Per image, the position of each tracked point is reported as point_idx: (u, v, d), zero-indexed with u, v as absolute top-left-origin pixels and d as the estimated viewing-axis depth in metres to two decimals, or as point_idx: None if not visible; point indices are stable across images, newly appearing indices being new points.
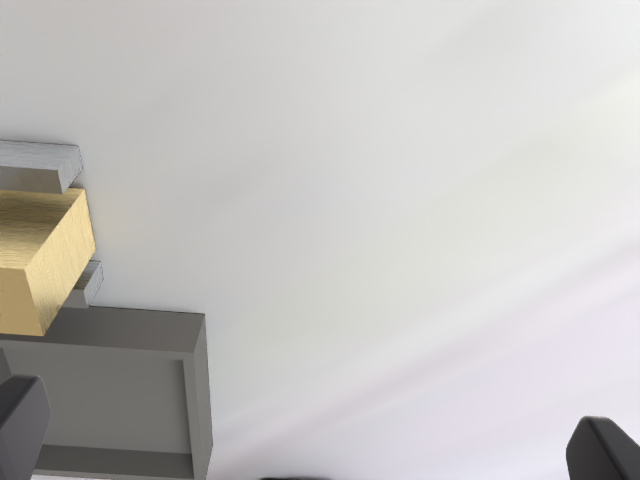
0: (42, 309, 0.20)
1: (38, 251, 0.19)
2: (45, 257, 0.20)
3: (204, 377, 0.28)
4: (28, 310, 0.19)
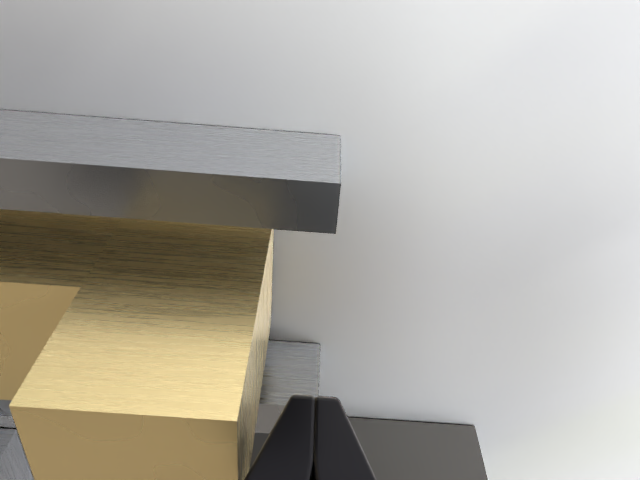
0: None
1: (247, 364, 0.08)
2: (250, 372, 0.09)
3: None
4: None
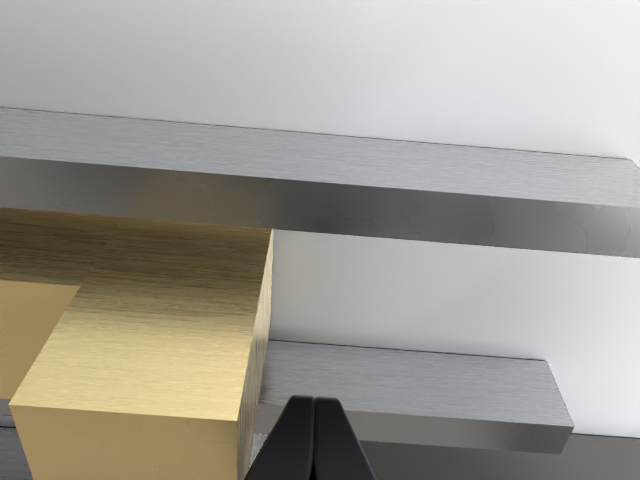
0: None
1: (247, 365, 0.08)
2: (250, 372, 0.09)
3: None
4: None
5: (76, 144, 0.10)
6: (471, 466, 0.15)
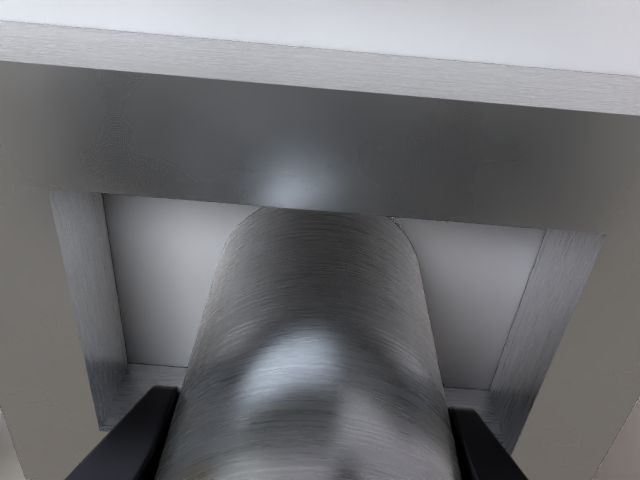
0: None
1: None
2: None
3: None
4: None
5: None
6: None
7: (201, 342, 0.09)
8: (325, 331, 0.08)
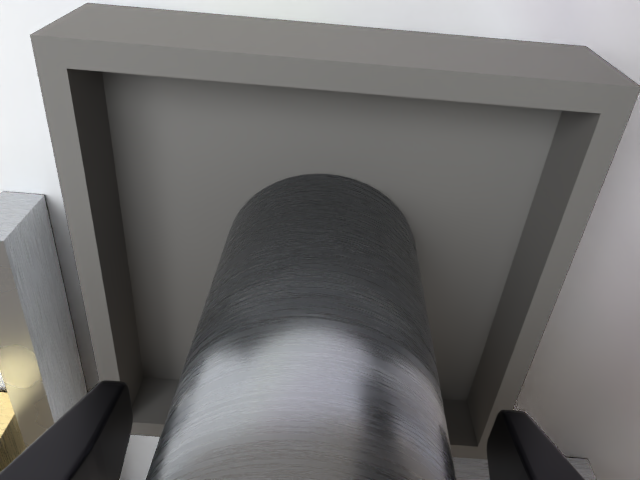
0: None
1: None
2: None
3: (250, 28, 0.11)
4: None
5: None
6: None
7: (210, 303, 0.10)
8: (323, 288, 0.09)
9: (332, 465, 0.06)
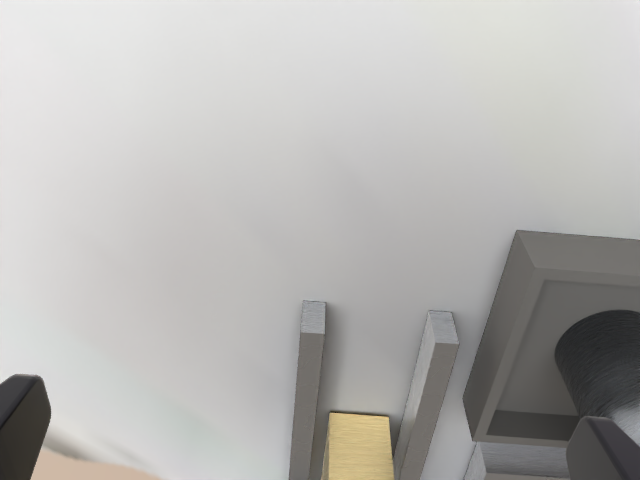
0: None
1: None
2: None
3: (608, 249, 0.22)
4: None
5: None
6: (487, 360, 0.25)
7: (602, 384, 0.21)
8: None
9: None
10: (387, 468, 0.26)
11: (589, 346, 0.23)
